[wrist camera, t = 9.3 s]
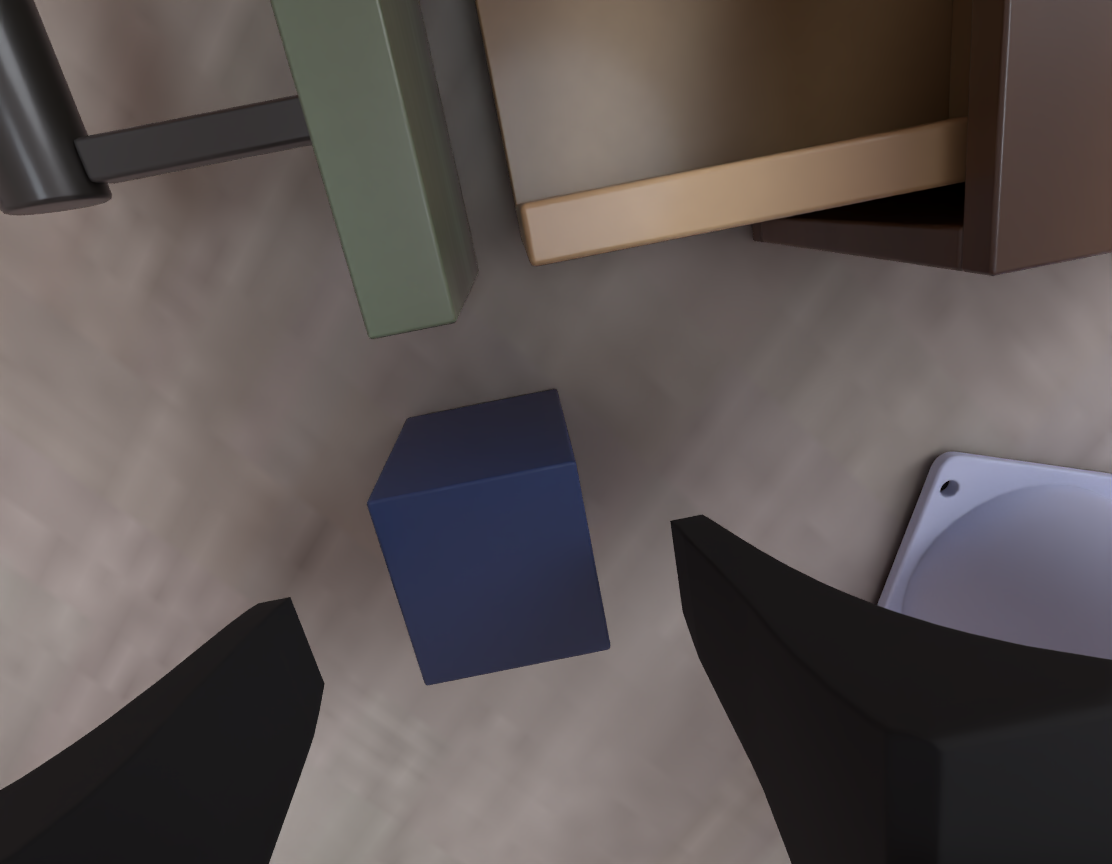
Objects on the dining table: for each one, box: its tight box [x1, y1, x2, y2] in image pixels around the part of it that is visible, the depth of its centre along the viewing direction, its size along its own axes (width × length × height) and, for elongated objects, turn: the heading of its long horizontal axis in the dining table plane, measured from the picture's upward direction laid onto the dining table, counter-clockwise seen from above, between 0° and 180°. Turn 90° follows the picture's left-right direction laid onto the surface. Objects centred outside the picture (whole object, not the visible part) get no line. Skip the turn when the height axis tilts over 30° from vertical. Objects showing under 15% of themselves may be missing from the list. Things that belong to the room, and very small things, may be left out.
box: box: [367, 389, 611, 685], centre depth 15 cm, size 4×4×5 cm
